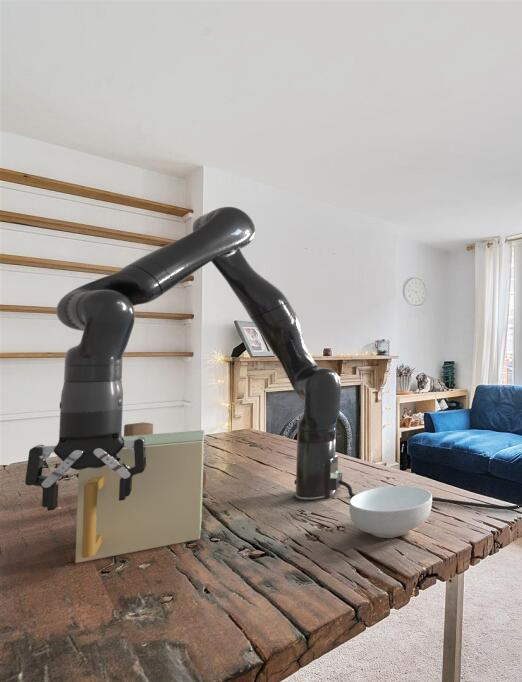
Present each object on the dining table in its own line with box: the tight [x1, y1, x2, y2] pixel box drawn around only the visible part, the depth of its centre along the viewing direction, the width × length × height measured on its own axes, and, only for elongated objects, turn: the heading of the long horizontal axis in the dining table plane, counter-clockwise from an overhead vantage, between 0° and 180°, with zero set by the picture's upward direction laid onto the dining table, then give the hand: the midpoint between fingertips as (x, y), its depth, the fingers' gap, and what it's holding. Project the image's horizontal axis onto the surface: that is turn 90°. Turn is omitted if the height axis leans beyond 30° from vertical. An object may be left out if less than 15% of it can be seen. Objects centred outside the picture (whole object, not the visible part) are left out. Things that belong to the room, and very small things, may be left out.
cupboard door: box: [75, 441, 203, 564], centre depth 78 cm, size 7×18×19 cm, turn 125°
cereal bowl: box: [348, 485, 433, 539], centre depth 91 cm, size 17×17×7 cm
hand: (88, 503), depth 72 cm, fingers open, 8 cm apart
